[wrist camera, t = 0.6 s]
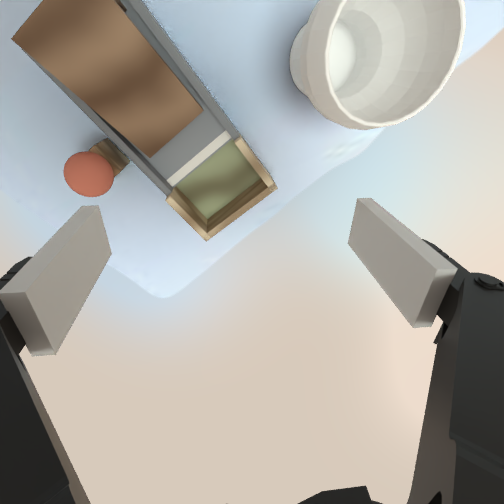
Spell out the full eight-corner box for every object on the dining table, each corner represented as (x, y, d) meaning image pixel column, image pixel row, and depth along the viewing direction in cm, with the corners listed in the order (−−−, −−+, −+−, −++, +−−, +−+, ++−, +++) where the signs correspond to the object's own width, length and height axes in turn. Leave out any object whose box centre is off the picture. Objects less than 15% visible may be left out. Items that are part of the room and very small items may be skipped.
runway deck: (38, 51, 30) (21, 48, 27) (114, -37, 27) (103, -49, 24) (170, 187, 38) (167, 196, 35) (238, 131, 35) (239, 136, 33)
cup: (275, 114, 35) (309, 138, 22) (277, -4, 29) (325, -64, 16) (362, 111, 36) (445, 132, 23) (380, -4, 30) (503, -61, 17)
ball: (65, 165, 31) (44, 177, 27) (93, 138, 30) (76, 147, 26) (100, 196, 33) (85, 212, 29) (127, 171, 32) (116, 185, 28)
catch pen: (170, 187, 38) (165, 200, 34) (238, 131, 35) (240, 138, 31) (207, 225, 41) (206, 241, 37) (271, 176, 39) (277, 188, 35)
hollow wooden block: (87, 156, 35) (71, 166, 31) (107, 137, 34) (93, 145, 30) (111, 178, 37) (98, 191, 33) (130, 161, 36) (120, 171, 32)
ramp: (43, 41, 28) (6, 34, 23) (100, -25, 26) (74, -48, 21) (151, 156, 34) (140, 170, 29) (203, 109, 32) (201, 116, 27)
